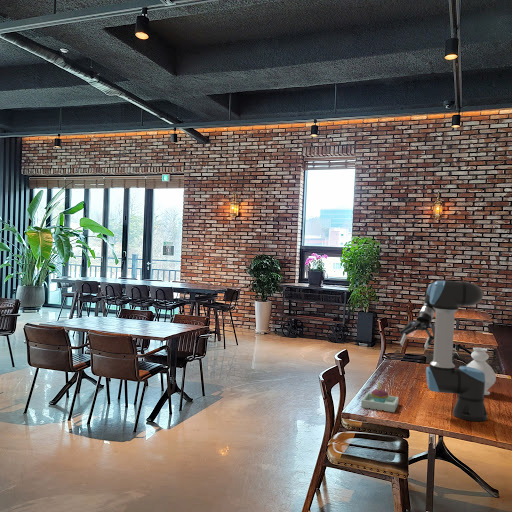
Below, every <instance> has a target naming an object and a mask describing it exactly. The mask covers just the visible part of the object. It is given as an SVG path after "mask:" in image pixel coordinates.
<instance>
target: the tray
mask: <svg viewBox="0 0 512 512" xmlns="http://www.w3.org/2000/svg"><path fill="white" fill-rule="evenodd" d="M398 405H399V396H393V395H388V398H387V399H386V401H385V403H381V402H374V398H373V396H372V395H371V392H366V393H365V394H364V396H363V397H362V399H361V402H360V407H361V408H364V409H369V408H370V409H372V410H376V409H377V411H382V410H384V411H385V412H389V413H395V411H396V410H397V408H398Z"/></svg>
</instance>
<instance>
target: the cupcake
mask: <svg viewBox="0 0 512 512" xmlns="http://www.w3.org/2000/svg"><path fill="white" fill-rule="evenodd" d="M380 383H381V382H380V381H378V383H377V384H378V385H377V386H378V387H377V389H376V388H375V389H373V390H372V391H371V392H370V393H371V395H372V396H373V398H374V402H381V403H385V401H386V399H387V398H388V396H389V393H388V392H387V390H385V389H382V388H381V387H380V386H381V384H380Z"/></svg>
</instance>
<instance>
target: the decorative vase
mask: <svg viewBox="0 0 512 512" xmlns="http://www.w3.org/2000/svg"><path fill="white" fill-rule="evenodd" d="M472 350H473V351H472V352H471V354H470V356H471V358H472V360H471V361H470V362H469V363H467V364H466V366H467V367H471V368H475V369H478V370H481V371H482V372H483V373H484V374H485V389H484V396H489V395H490V394H491V392H490V391H489V389H490V388H491V387H492V386H494V384H495V383H496V381H497V377H496V373H495V371H494V370H493V368H492V367H491V365H490V364H489V363H488V362H487V361H488V359H490V355H489V354H488V353H487V352H488V349H487V348H484V347H473V348H472Z"/></svg>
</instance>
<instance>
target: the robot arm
mask: <svg viewBox="0 0 512 512" xmlns="http://www.w3.org/2000/svg"><path fill="white" fill-rule="evenodd" d="M483 298H484V292H483V289H482V288H481V287H480V286H479V285H477V284H475V283H473V282H468V281H453V280H436V281H434V282H433V283H432V282H431V283H430V284H429V285H428V287H427V289H426V293H425V297H424V300H423V301H424V302H423V303H422V306H421V309H420V310H419V313H418V315H417V318H416V320H415V321H413V320H412V319H411V320H409V323H407V324H406V325H404V327H403V328H401V329H400V330H399V333H400V341H399V343H400V346H402V347H403V346H404V343H405V341H406V339H407V336H408V335H409V334H411V333H413V332H415V331H417V330H418V331H424V332H426V334H427V338H426V341H425V344H424V346H423V347H424V350H428V348H429V345H432V342H433V356H432V357H433V359H432V361H430V362H429V366H426V367H425V376H426V379H425V380H426V385H427V388H428V390H429V391H430V392H433V393H444V394H445V393H447V394H457V400H456V402H455V404H454V407H453V411H452V414H453V416H454V417H457V418H459V419H461V420H465V421H470V422H486V421H487V420H488V412H487V409H486V406H485V395H484V389H485V374H484V373H483V372H482V371H481V370H478V369H475V368H471V367H467V365H460V366H459V367H458V368H456V365H455V363H453V349H454V333H455V332H454V331H455V329H454V328H455V314H456V312H458V311H459V307H471V306H475V305H477V304H480V302H481V301H482V299H483ZM434 317H435V322H432V320H433V318H434ZM428 328H430V329H431V332H430V331H429V329H428ZM433 340H434V341H433Z"/></svg>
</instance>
